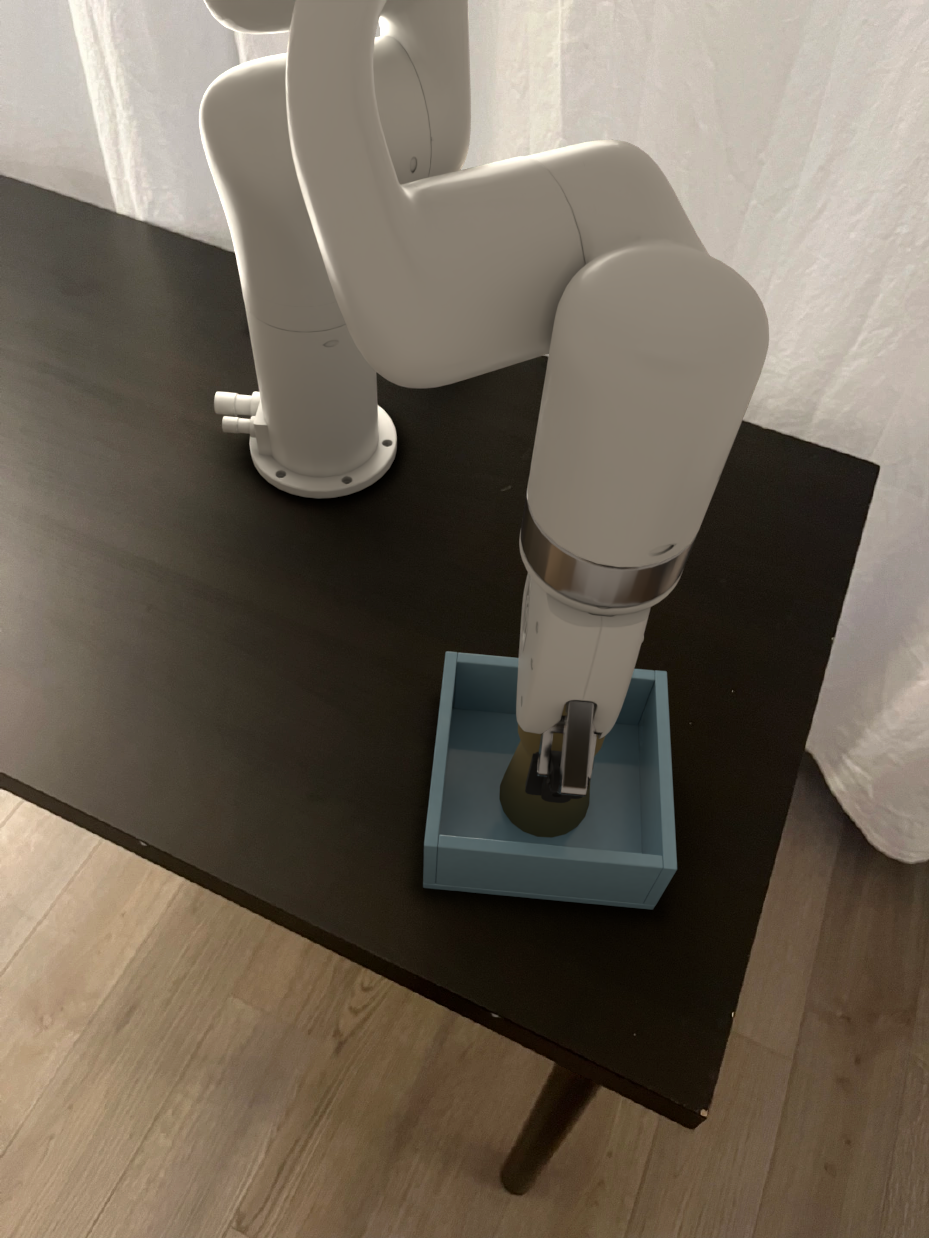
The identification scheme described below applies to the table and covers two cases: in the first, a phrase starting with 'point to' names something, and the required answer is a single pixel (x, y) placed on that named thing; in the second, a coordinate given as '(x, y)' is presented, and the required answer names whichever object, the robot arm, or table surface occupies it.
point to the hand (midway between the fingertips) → (555, 716)
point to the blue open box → (563, 865)
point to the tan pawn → (532, 809)
